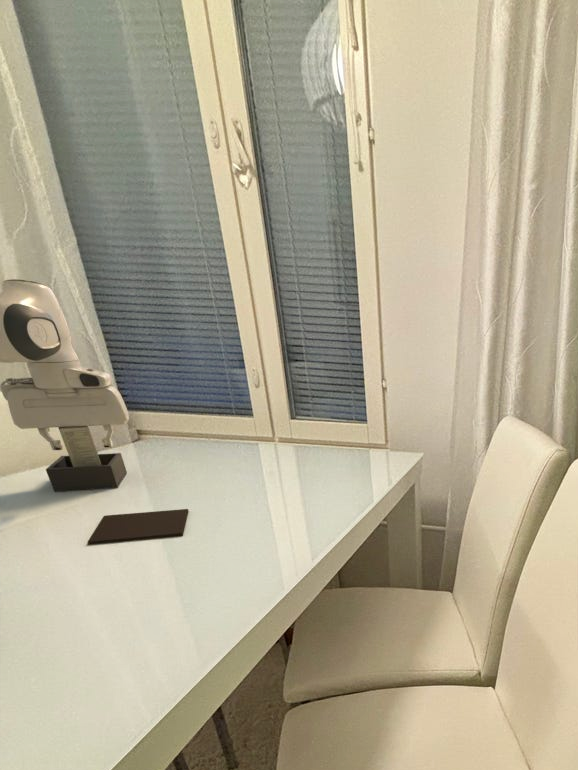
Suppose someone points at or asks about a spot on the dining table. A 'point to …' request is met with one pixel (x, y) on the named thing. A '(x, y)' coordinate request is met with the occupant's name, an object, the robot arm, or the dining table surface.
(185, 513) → the mat
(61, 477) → the bin
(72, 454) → the box
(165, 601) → the dining table surface
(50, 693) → the dining table surface
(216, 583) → the dining table surface
